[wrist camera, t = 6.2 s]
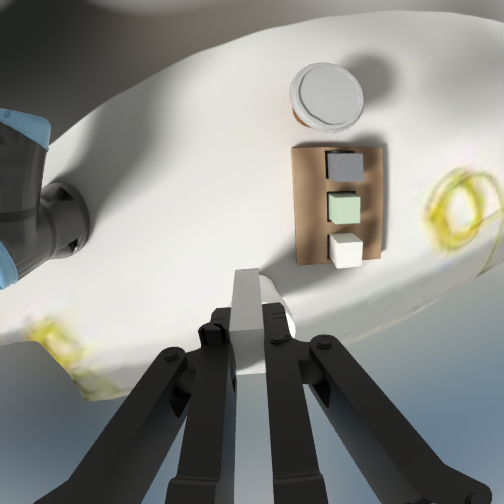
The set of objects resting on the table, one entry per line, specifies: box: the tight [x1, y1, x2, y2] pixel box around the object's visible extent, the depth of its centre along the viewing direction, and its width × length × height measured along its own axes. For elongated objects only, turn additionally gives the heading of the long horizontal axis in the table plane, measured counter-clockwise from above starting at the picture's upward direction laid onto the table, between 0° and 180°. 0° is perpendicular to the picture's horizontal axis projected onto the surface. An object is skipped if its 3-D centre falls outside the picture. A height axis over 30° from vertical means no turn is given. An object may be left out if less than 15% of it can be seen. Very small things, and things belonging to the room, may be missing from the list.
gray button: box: [328, 153, 364, 182], centre depth 39 cm, size 4×4×5 cm
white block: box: [330, 233, 363, 268], centre depth 43 cm, size 4×4×5 cm
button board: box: [291, 147, 383, 265], centre depth 44 cm, size 15×19×2 cm
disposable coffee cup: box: [290, 63, 364, 133], centre depth 34 cm, size 10×10×12 cm
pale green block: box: [327, 192, 360, 224], centre depth 42 cm, size 4×4×5 cm
